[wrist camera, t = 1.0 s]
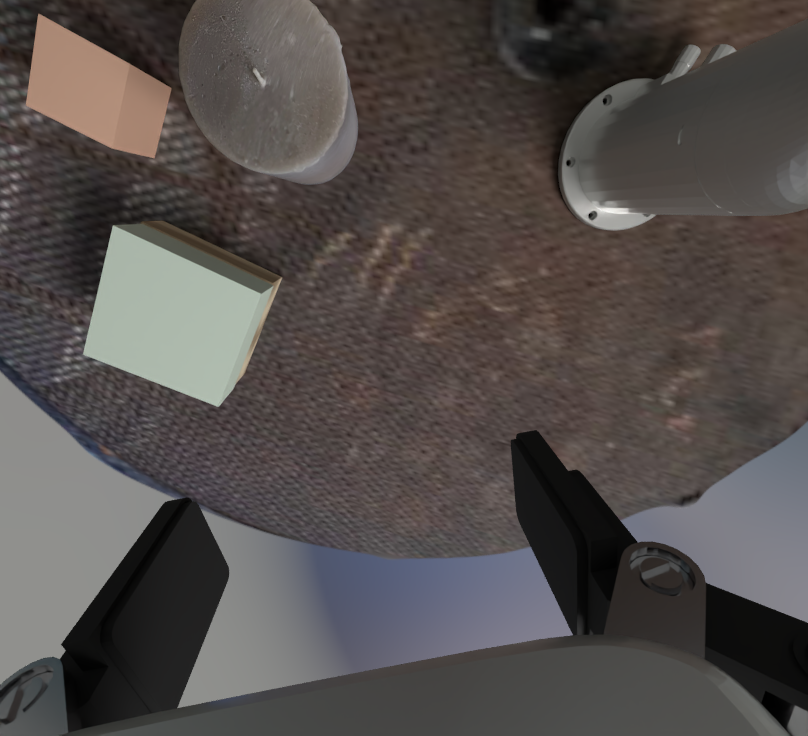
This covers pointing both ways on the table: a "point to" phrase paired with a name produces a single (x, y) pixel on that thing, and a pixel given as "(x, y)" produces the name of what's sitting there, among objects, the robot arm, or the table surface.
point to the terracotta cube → (95, 91)
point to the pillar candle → (269, 86)
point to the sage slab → (174, 313)
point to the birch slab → (228, 259)
